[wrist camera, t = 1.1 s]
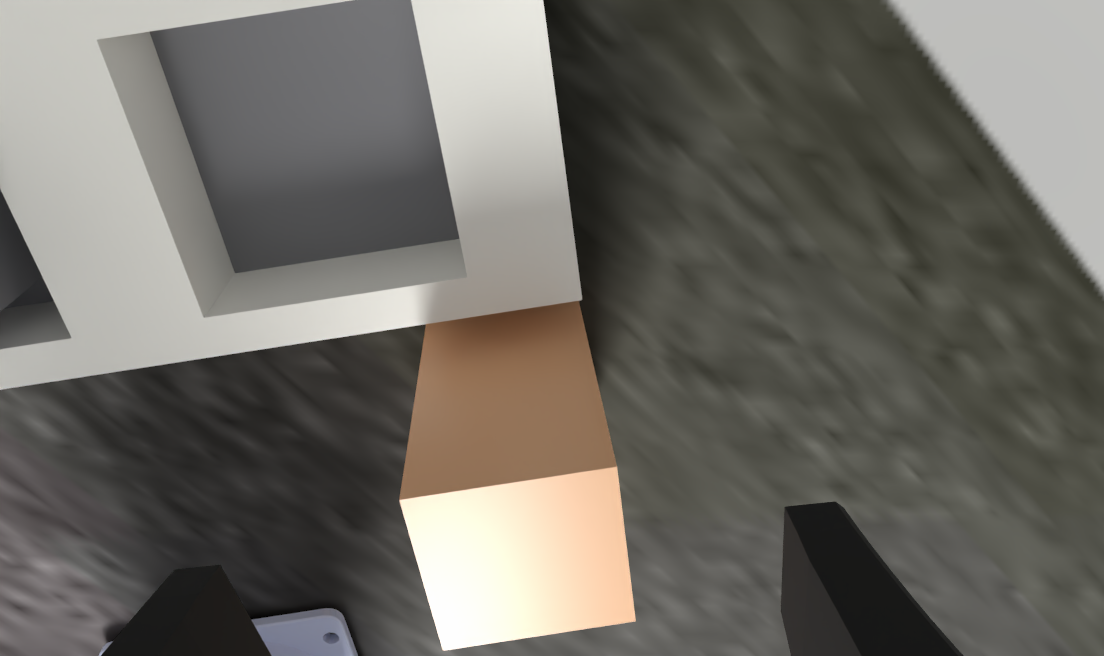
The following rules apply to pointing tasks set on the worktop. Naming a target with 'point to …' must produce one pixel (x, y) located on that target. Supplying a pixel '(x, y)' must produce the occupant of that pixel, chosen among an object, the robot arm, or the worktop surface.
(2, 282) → the graphite plug
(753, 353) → the worktop surface
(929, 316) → the worktop surface
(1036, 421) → the worktop surface
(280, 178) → the white compartment tray
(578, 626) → the plug
